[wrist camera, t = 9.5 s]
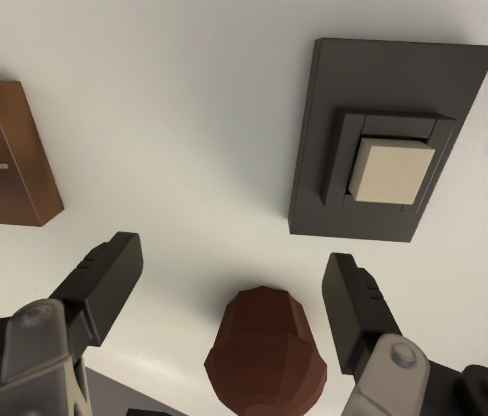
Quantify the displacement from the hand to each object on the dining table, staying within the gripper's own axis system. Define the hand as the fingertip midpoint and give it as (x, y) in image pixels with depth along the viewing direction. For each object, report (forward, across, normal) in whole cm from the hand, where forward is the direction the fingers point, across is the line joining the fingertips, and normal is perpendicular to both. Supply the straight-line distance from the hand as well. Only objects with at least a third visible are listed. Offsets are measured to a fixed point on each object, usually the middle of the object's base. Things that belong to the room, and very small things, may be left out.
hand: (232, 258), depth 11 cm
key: (+9, -9, -2) cm, 12 cm away
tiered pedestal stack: (+12, -9, -2) cm, 15 cm away
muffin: (+12, -3, +18) cm, 22 cm away
